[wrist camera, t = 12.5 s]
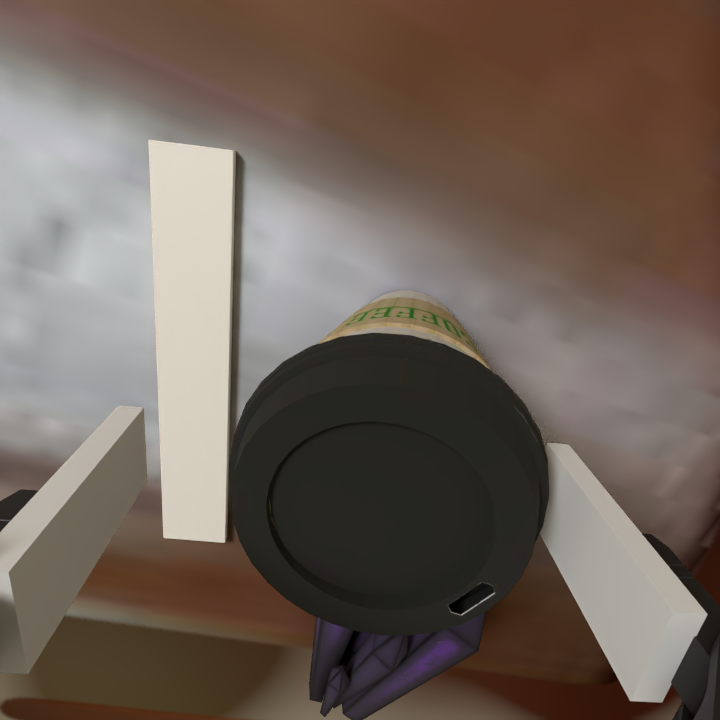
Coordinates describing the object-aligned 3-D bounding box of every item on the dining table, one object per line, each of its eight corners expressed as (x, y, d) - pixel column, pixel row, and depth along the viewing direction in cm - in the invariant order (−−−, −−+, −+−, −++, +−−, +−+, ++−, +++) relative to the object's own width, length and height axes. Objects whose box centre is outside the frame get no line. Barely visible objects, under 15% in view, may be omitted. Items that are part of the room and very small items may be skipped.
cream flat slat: (166, 531, 32) (163, 537, 32) (153, 140, 24) (148, 139, 23) (227, 536, 33) (224, 542, 32) (235, 150, 24) (233, 150, 23)
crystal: (397, 781, 33) (566, 600, 25) (240, 721, 32) (361, 513, 24) (400, 677, 39) (535, 506, 31) (270, 624, 39) (373, 435, 30)
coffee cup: (400, 215, 25) (360, 272, 11) (534, 342, 26) (650, 533, 12) (285, 346, 28) (145, 514, 14) (409, 451, 30) (389, 696, 16)
